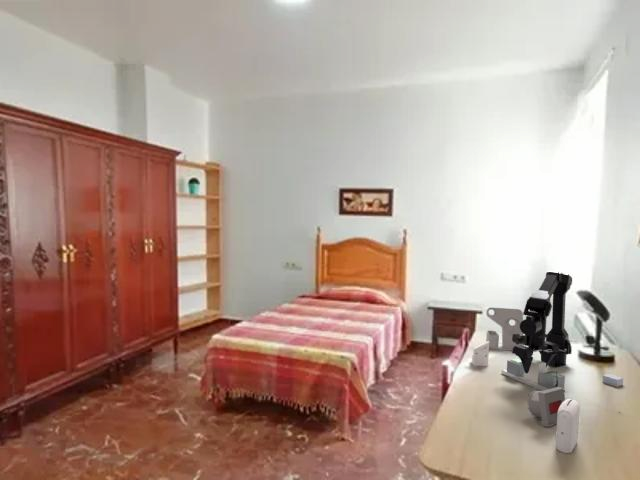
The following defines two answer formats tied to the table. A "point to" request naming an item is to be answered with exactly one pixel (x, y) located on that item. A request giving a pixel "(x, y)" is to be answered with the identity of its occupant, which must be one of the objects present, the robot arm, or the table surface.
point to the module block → (535, 371)
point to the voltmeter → (546, 404)
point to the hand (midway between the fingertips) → (534, 371)
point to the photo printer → (567, 425)
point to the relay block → (612, 380)
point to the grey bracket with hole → (504, 327)
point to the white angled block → (481, 354)
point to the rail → (517, 373)
